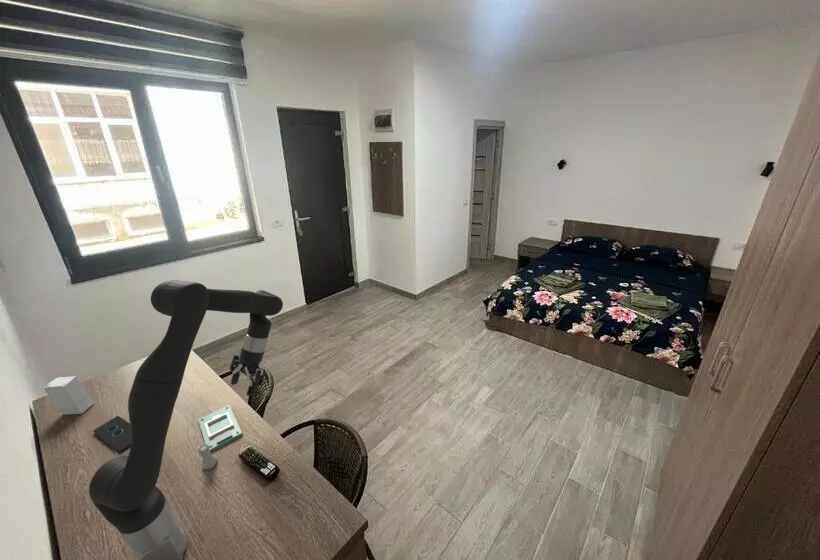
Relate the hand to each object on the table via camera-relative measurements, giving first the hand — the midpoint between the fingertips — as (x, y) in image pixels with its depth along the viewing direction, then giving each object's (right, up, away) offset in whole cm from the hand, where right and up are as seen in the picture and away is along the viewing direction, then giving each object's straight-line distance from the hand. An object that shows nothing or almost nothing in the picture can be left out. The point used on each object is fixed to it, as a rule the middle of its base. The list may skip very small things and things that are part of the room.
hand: (241, 389), depth 114 cm
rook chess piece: (-7, -23, -7) cm, 25 cm away
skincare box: (-76, -14, +17) cm, 79 cm away
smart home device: (-48, -19, +5) cm, 52 cm away
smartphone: (-38, -22, -1) cm, 44 cm away
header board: (-11, -17, +6) cm, 21 cm away
